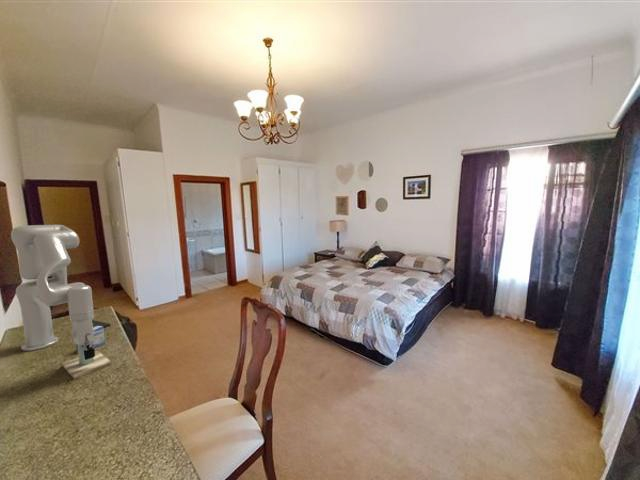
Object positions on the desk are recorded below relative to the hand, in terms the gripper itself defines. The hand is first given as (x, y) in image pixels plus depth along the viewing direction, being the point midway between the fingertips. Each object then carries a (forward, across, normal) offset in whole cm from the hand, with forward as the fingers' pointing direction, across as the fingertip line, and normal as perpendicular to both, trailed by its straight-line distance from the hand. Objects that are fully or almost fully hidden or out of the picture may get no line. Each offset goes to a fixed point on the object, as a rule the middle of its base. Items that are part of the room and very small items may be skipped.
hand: (86, 354), depth 112 cm
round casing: (+3, 0, 0) cm, 3 cm away
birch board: (+5, 0, 0) cm, 5 cm away
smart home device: (+5, -48, +14) cm, 50 cm away
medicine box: (+5, -18, +7) cm, 20 cm away
